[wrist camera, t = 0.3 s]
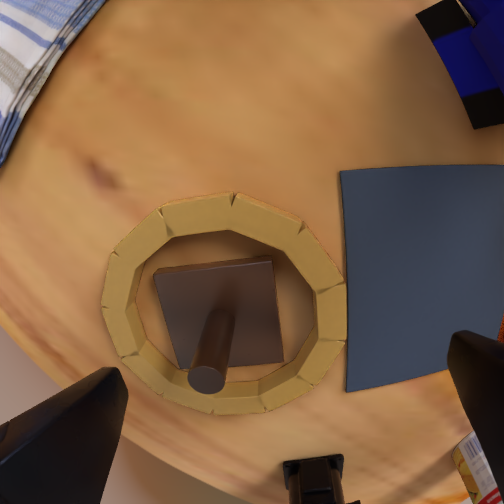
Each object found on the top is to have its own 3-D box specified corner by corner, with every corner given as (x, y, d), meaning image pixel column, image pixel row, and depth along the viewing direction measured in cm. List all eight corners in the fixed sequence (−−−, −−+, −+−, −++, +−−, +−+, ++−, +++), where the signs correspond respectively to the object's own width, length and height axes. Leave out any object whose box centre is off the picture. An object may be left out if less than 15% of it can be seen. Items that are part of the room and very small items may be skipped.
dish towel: (176, -62, 14) (167, -81, 11) (8, 175, 20) (-13, 179, 17) (63, -84, 11) (51, -95, 8) (-58, 98, 17) (-75, 98, 14)
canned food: (462, 463, 29) (488, 521, 18) (443, 453, 28) (472, 521, 17) (503, 429, 27) (537, 484, 16) (490, 414, 26) (530, 479, 15)
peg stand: (283, 353, 23) (288, 425, 16) (183, 360, 24) (158, 427, 17) (271, 254, 21) (274, 307, 14) (157, 268, 22) (113, 320, 14)
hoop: (340, 387, 24) (344, 403, 22) (150, 399, 26) (143, 413, 24) (332, 179, 19) (339, 182, 17) (90, 216, 21) (76, 222, 19)
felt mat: (491, 352, 23) (493, 353, 23) (345, 390, 24) (346, 392, 24) (514, 165, 18) (516, 165, 18) (339, 171, 19) (340, 171, 19)
